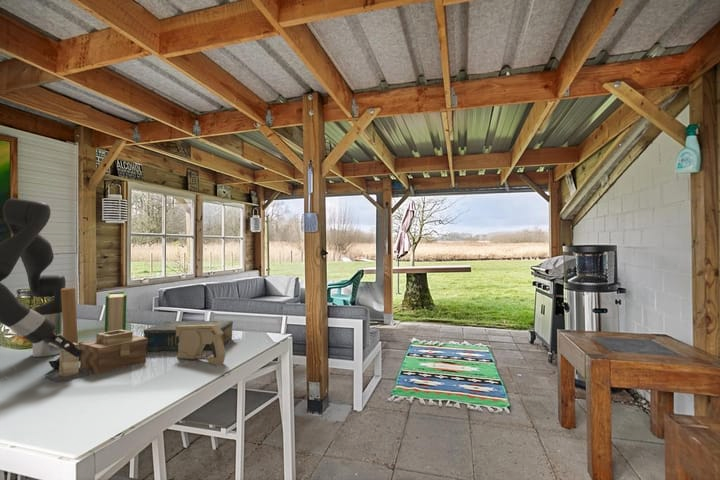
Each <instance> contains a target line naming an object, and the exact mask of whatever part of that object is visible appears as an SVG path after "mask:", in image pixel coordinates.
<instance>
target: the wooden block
mask: <svg viewBox="0 0 720 480" xmlns="http://www.w3.org/2000/svg"><path fill="white" fill-rule="evenodd" d="M73 344H74V345H75V347H76V348H78V349H79V344H77V343H73ZM68 346H69V344H66V345H65V346H64V347H66V348H67V347H68ZM59 357H60V364H59V368H58V372H59V375H61V376H64V377H65V376H69V375H73V374H77V373H78V371H79V368H80V361H79V357H75V356H74V355H72V354H70V353H69V352H66V351H65V350H63V349H60V353H59Z"/></svg>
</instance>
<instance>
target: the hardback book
mask: <svg viewBox="0 0 720 480" xmlns="http://www.w3.org/2000/svg"><path fill="white" fill-rule="evenodd" d="M127 295H128V294H127V291H117V292H114V291H113V292H107V293H106V295H105V308H104V310H105V311H104V312H105V314H104V332H109V331H115V330H121V329H122V330H127V328H126V327H127V326H126V325H127V324H126V323H127Z"/></svg>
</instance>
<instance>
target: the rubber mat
mask: <svg viewBox="0 0 720 480" xmlns="http://www.w3.org/2000/svg"><path fill="white" fill-rule="evenodd" d="M91 374H92V371H89V370H86V369H83V368H81V367H79V371H78V373H77V374H73V375H69V376H65V377H64V376H61V375H59V371H58V372H55V373H50V374H47V375H45V378H47V379H49V380H52V381H54V382H56V383H62V382H65V381H70V380H74V379H77V378H80V377H81V378H82V377H85V376H91Z"/></svg>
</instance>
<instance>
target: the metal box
mask: <svg viewBox="0 0 720 480" xmlns="http://www.w3.org/2000/svg"><path fill="white" fill-rule="evenodd" d="M233 324H234V321H233V320H167V321H164V322H162V323H158V324H156V325H154V326H150V327H148V328H147V327H146V328H144V329H143V335H144V336H143V337H144V338H148V343H147V344H146V353H147V352H151V353H152V352H153V353H154V352H155V353H156V352H157V353H159V352H178V343H179V336H176V326H180V325H218V326H219V327H220V329H221V330H222V331H223V335H222V336H221V340H222V341H223V345H224V346H225V345H227V344H228V343H229V342H231V341H232V339H233ZM202 352H212V347H210V348H209V344H206V345H205V347H204V349H203V350H202Z"/></svg>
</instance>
